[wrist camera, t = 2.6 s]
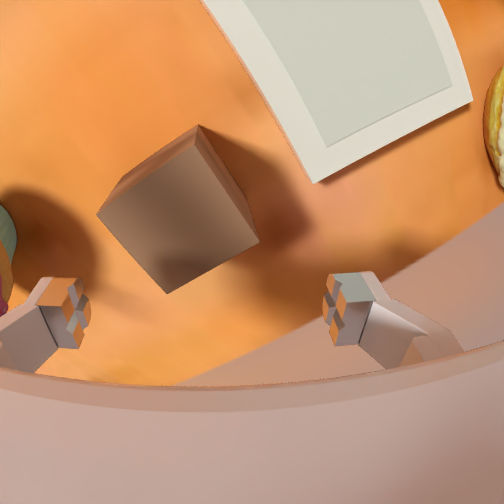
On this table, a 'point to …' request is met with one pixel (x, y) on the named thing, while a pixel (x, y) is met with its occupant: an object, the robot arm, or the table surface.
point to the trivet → (345, 71)
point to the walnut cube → (180, 212)
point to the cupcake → (6, 258)
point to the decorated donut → (495, 123)
